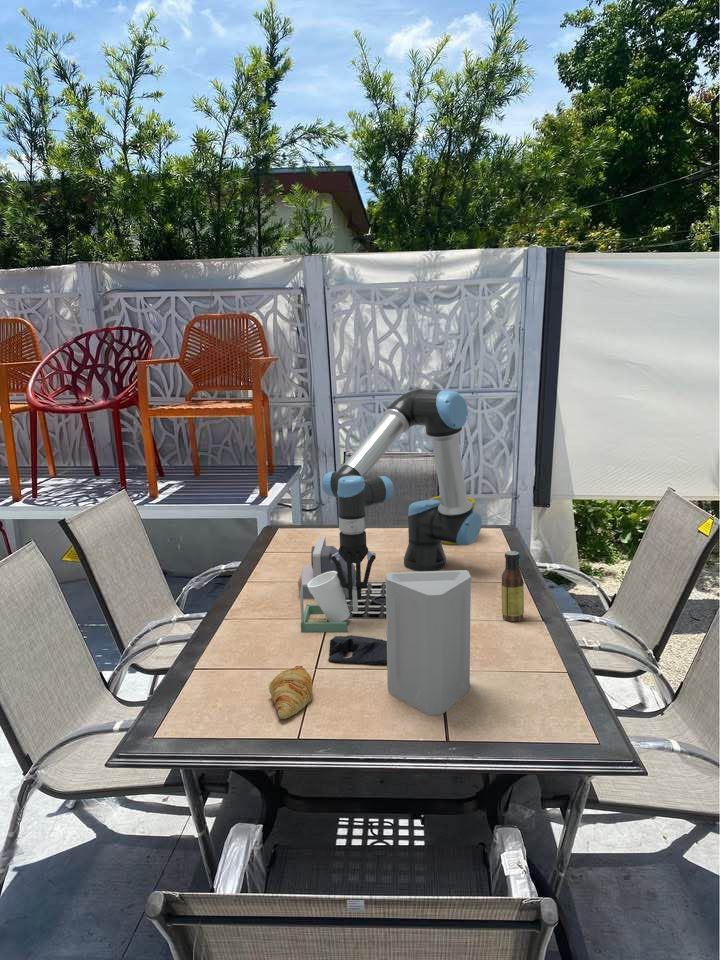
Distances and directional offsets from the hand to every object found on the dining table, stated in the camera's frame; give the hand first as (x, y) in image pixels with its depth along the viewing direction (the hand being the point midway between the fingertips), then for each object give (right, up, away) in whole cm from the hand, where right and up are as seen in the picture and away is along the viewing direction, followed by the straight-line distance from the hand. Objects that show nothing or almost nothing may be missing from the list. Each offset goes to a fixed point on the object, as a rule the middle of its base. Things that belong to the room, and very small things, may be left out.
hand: (355, 609), depth 203 cm
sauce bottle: (+46, -3, +1) cm, 46 cm away
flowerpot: (+38, +13, +77) cm, 87 cm away
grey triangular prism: (+18, -13, -42) cm, 47 cm away
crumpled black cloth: (+4, -9, -18) cm, 21 cm away
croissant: (-15, -14, -40) cm, 45 cm away
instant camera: (-9, +2, +29) cm, 30 cm away
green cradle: (-9, -4, 0) cm, 10 cm away
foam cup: (-4, -3, +1) cm, 5 cm away
